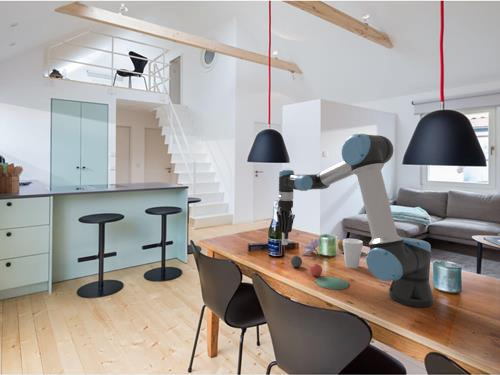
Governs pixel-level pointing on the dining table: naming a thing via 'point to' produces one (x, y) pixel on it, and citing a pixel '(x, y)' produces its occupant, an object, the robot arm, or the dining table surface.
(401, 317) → the dining table surface
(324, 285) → the green mark
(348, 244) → the foam cup
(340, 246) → the potato
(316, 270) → the red ball
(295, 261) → the dark gray ball
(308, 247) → the water lily
